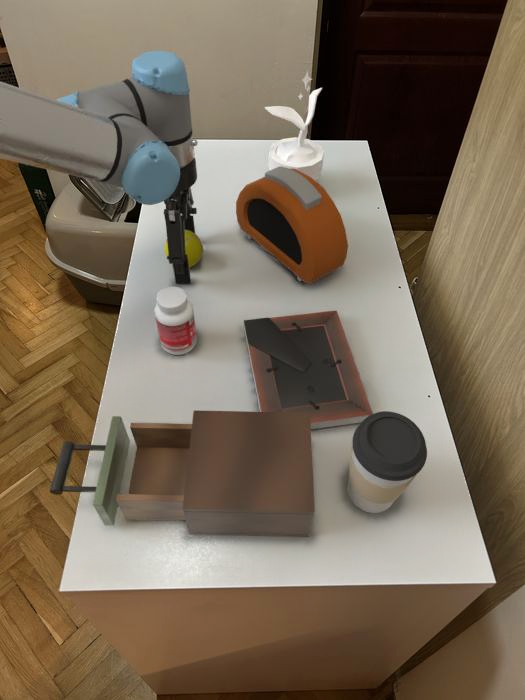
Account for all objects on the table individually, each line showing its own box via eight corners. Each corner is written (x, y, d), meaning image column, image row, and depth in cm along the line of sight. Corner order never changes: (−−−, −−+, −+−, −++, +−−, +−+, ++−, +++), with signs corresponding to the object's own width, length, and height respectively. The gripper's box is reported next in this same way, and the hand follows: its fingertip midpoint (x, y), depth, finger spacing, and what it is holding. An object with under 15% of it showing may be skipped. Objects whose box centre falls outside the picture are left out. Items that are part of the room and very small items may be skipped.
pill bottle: (199, 352, 89) (194, 307, 81) (163, 359, 88) (153, 314, 80) (194, 325, 93) (188, 280, 84) (159, 331, 92) (149, 285, 83)
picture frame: (243, 329, 93) (264, 437, 79) (243, 319, 91) (264, 428, 77) (335, 318, 95) (370, 422, 81) (337, 309, 93) (373, 413, 79)
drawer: (53, 524, 70) (36, 503, 64) (75, 439, 78) (62, 414, 72) (215, 528, 70) (212, 507, 64) (221, 442, 78) (219, 418, 72)
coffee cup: (405, 466, 77) (432, 411, 65) (402, 527, 71) (432, 478, 59) (343, 454, 78) (359, 398, 66) (335, 513, 72) (351, 462, 61)
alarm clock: (234, 230, 110) (232, 156, 96) (268, 213, 113) (270, 140, 100) (310, 294, 98) (319, 220, 85) (345, 273, 102) (359, 200, 89)
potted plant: (317, 176, 122) (329, 63, 102) (321, 207, 115) (335, 91, 95) (262, 176, 122) (264, 62, 102) (263, 207, 114) (265, 91, 95)
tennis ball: (160, 264, 103) (154, 236, 97) (184, 246, 106) (180, 217, 101) (186, 280, 100) (183, 251, 95) (211, 260, 104) (208, 232, 98)
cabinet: (189, 534, 70) (182, 508, 63) (198, 441, 79) (193, 410, 72) (308, 537, 70) (314, 511, 63) (305, 444, 79) (310, 412, 72)
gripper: (187, 202, 79) (200, 305, 96) (201, 122, 93) (210, 224, 110) (137, 201, 79) (158, 304, 96) (158, 122, 93) (174, 224, 110)
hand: (186, 262), depth 103 cm, fingers open, 10 cm apart
